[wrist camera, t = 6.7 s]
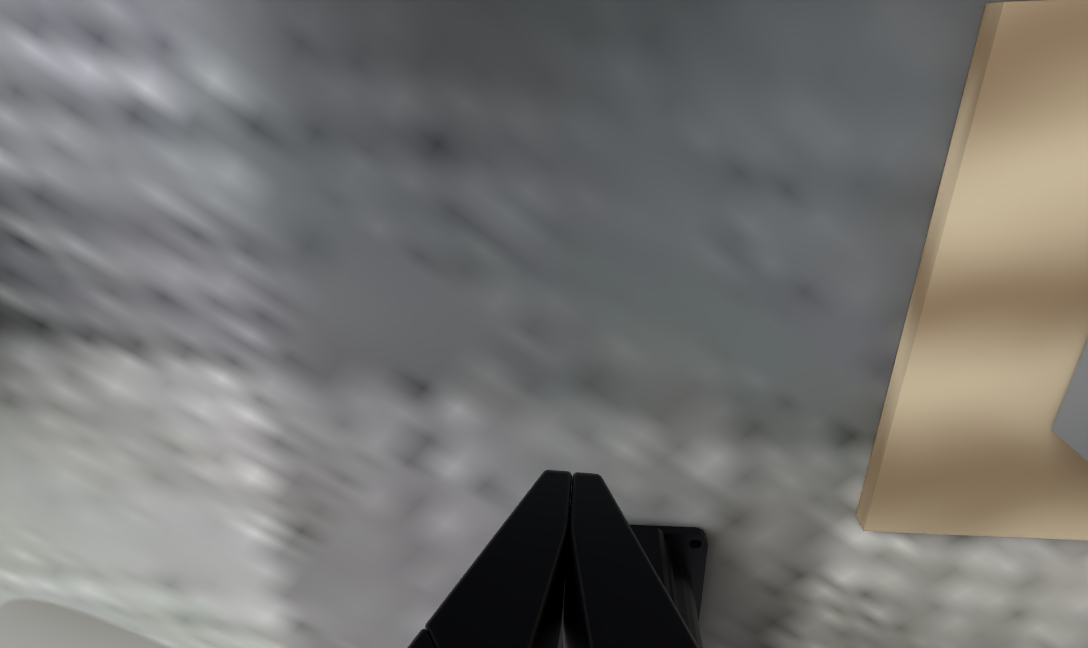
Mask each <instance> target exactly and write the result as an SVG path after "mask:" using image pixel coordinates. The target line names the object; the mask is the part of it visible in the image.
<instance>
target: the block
mask: <svg viewBox="0 0 1088 648" xmlns="http://www.w3.org/2000/svg"><path fill="white" fill-rule="evenodd" d="M1052 431H1053V432H1055V433H1056V434H1057V435H1058V436H1059V437H1060V438H1061V439H1063V440H1064V441H1065V442H1066V443H1067V444H1068V445H1069V446H1071V447H1072V448H1073V449H1074V450H1075V451H1076V452H1077V453H1079V454H1080V455H1081V456H1082V457H1083V458H1084V459H1085V460H1087V461H1088V341H1087V343H1086V346H1085V348H1084V351H1083V353H1082V356H1081V358H1080V361H1079V363H1078V365H1077V368H1076V370H1075V373H1074V375H1073V378H1072V380H1071V383H1070V385H1069V388H1068V390H1067V393H1066V395H1065V398H1064V400H1063V403H1062V405H1061V407H1060V410H1059V412H1058V415H1057V417H1056V420H1055V422H1054V425H1053V427H1052Z"/></svg>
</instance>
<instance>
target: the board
mask: <svg viewBox="0 0 1088 648" xmlns="http://www.w3.org/2000/svg"><path fill="white" fill-rule="evenodd" d="M1087 341H1088V0H1047V1H1018V2H998V3H986V6H985V10H984V14H983V18H982V22H981V26H980V30H979V34H978V38H977V42H976V46H975V50H974V54H973V57H972V61H971V65H970V69H969V73H968V77H967V81H966V85H965V89H964V93H963V97H962V101H961V105H960V109H959V112H958V116H957V120H956V124H955V128H954V132H953V136H952V140H951V144H950V148H949V152H948V156H947V160H946V164H945V168H944V171H943V175H942V179H941V183H940V187H939V191H938V195H937V199H936V203H935V207H934V211H933V215H932V219H931V223H930V227H929V230H928V234H927V238H926V242H925V246H924V250H923V254H922V258H921V262H920V266H919V270H918V274H917V278H916V282H915V286H914V289H913V293H912V297H911V301H910V305H909V309H908V313H907V317H906V321H905V325H904V329H903V333H902V337H901V341H900V344H899V348H898V352H897V356H896V360H895V364H894V368H893V372H892V376H891V380H890V384H889V388H888V392H887V396H886V400H885V403H884V407H883V411H882V415H881V419H880V423H879V427H878V431H877V435H876V439H875V443H874V447H873V451H872V455H871V459H870V462H869V466H868V470H867V474H866V478H865V482H864V486H863V490H862V494H861V498H860V502H859V506H858V510H857V514H856V517H857V519H858V521H859V523H860V525H861V527H862V529H863V531H873V532H898V533H922V534H946V535H970V536H994V537H1019V538H1043V539H1067V540H1088V461H1087V460H1085V459H1084V458H1083V457H1082V456H1081V455H1080V454H1079V453H1077V452H1076V451H1075V450H1074V449H1073V448H1072V447H1071V446H1069V445H1068V444H1067V443H1066V442H1065V441H1064V440H1063V439H1061V438H1060V437H1059V436H1058V435H1057V434H1056V433H1055V432H1053V431H1052V427H1053V425H1054V422H1055V420H1056V417H1057V415H1058V412H1059V410H1060V407H1061V405H1062V403H1063V400H1064V398H1065V395H1066V393H1067V390H1068V388H1069V385H1070V383H1071V380H1072V378H1073V375H1074V373H1075V370H1076V368H1077V365H1078V363H1079V361H1080V358H1081V356H1082V353H1083V351H1084V348H1085V346H1086V343H1087Z"/></svg>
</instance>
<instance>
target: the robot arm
mask: <svg viewBox="0 0 1088 648" xmlns="http://www.w3.org/2000/svg"><path fill="white" fill-rule="evenodd" d="M571 486H572V490H571ZM570 502H571V505H570ZM569 517H570V519H569ZM694 539H697V541H691V540H694ZM707 547H708V543H707V538H706V533H705V532H704V531H703V530H701V529H700V528H695V527H671V526H647V525H629V524H628V522H627V520H626V519H625V517H624V515H623V513H622V512H621V510H620V508H619V506H618V505H617V503H616V501H615V499H614V498H613V496H612V494H611V492H610V491H609V489H608V487H607V485H606V484H605V482H604V480H603V479H602V477H601V476H600V475H598V474H592V473H580V472H576V473H574V475H573V477H572V475H571V473H570V472H568V471H556V470H546V471H544V472H543V473H542V475H541V476H540V477H539V478H538V480H537V481H536V482H535V484H534V485H533V486H532V488H531V489H530V490H529V491H528V493H527V494H526V495H525V497H524V498H523V499H522V500H521V502H520V503H519V504H518V506H517V507H516V508H515V510H514V511H513V512H512V513H511V515H510V516H509V517H508V519H507V520H506V521H505V522H504V524H503V525H502V526H501V528H500V529H499V530H498V532H497V533H496V534H495V535H494V537H493V538H492V539H491V541H490V542H489V543H488V544H487V546H486V547H485V548H484V550H483V551H482V552H481V554H480V555H479V556H478V557H477V559H476V560H475V561H474V563H473V564H472V565H471V566H470V568H469V569H468V570H467V572H466V573H465V574H464V576H463V577H462V578H461V579H460V581H459V582H458V583H457V585H456V586H455V587H454V588H453V590H452V591H451V592H450V594H449V595H448V596H447V598H446V599H445V600H444V601H443V603H442V604H441V605H440V607H439V608H438V609H437V611H436V612H435V613H434V614H433V616H432V617H431V618H430V620H429V621H428V622H427V623H426V625H425V629H422V630H421V631H420V632H419V633H418V635H417V636H416V637H415V639H414V640H413V641H412V642H411V644H410V645H409V646H408V648H703V646H702V640H701V634H700V627H699V614H700V605H701V597H702V589H703V580H704V572H705V563H706V555H707Z"/></svg>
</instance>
